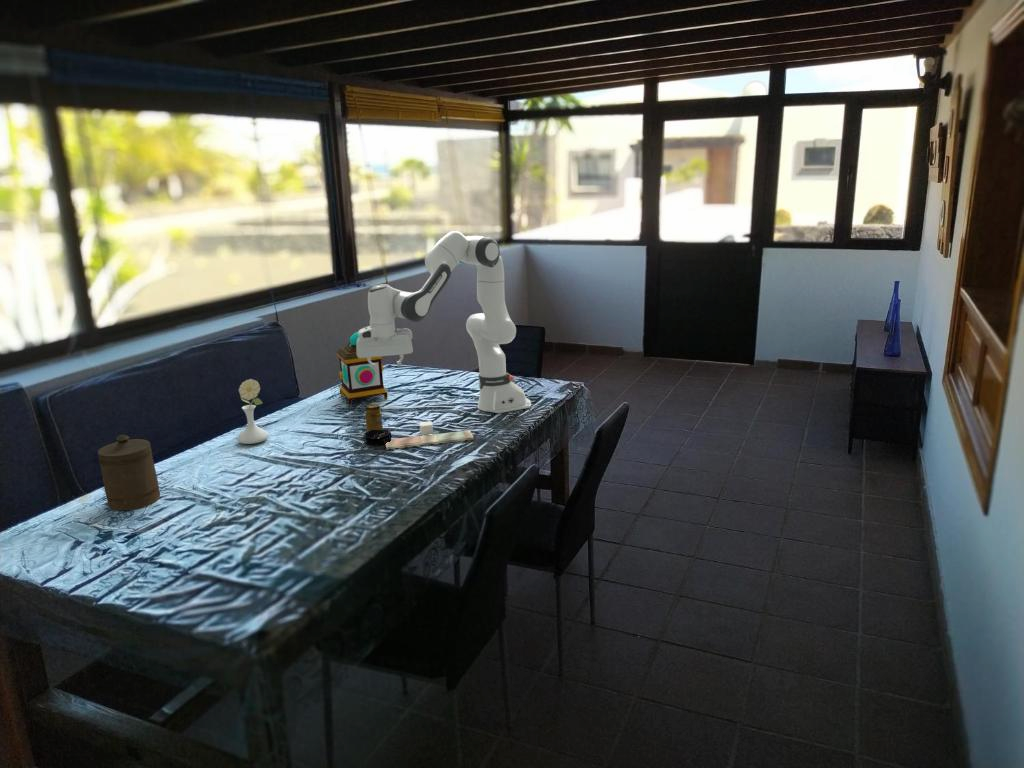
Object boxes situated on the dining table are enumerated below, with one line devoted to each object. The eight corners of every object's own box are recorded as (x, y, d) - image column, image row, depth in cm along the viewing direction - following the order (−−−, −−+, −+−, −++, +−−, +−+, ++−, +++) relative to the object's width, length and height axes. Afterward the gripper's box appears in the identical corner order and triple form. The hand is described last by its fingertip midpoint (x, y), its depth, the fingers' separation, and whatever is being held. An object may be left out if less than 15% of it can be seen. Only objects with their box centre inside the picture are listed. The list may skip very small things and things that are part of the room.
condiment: (378, 431, 288) (376, 401, 285) (390, 436, 282) (387, 406, 278) (362, 435, 284) (359, 406, 280) (373, 441, 277) (370, 411, 274)
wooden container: (147, 487, 245) (134, 424, 238) (169, 498, 236) (156, 433, 229) (100, 503, 234) (86, 438, 228) (121, 515, 225) (107, 447, 218)
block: (431, 430, 286) (431, 421, 285) (433, 434, 282) (432, 424, 281) (420, 432, 285) (419, 422, 284) (421, 436, 281) (420, 426, 280)
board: (470, 432, 282) (470, 429, 282) (473, 439, 275) (473, 436, 274) (385, 442, 276) (384, 439, 276) (386, 449, 268) (386, 446, 268)
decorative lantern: (336, 395, 336) (329, 330, 327) (379, 388, 344) (373, 325, 335) (346, 407, 318) (339, 339, 310) (391, 400, 326) (385, 333, 318)
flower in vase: (231, 444, 280) (221, 380, 273) (254, 434, 290) (245, 372, 283) (256, 449, 274) (246, 384, 267) (278, 438, 284) (270, 376, 277)
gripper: (411, 326, 272) (414, 362, 275) (354, 330, 268) (358, 367, 272) (412, 329, 266) (415, 366, 270) (354, 334, 262) (358, 372, 266)
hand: (386, 367), depth 270 cm, fingers open, 8 cm apart
